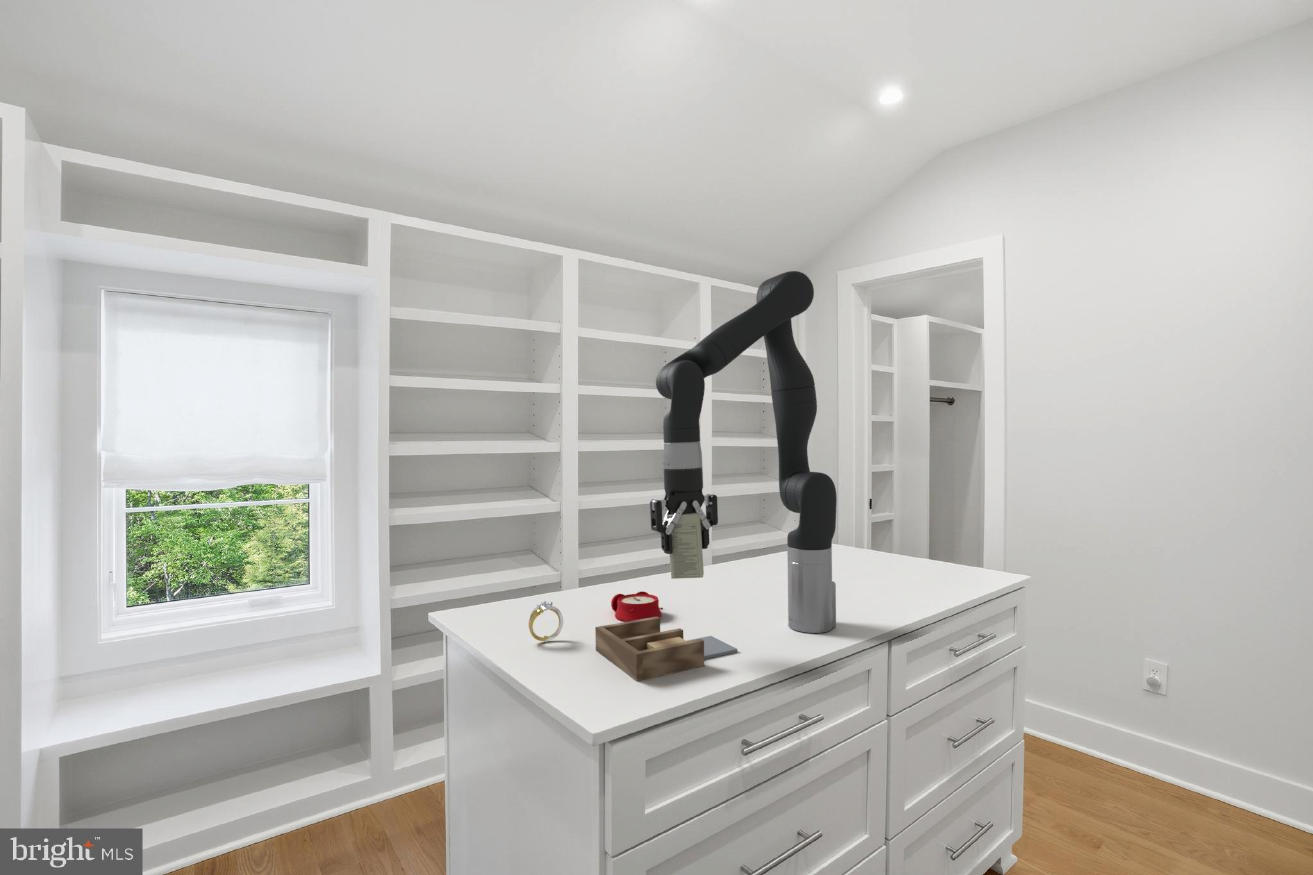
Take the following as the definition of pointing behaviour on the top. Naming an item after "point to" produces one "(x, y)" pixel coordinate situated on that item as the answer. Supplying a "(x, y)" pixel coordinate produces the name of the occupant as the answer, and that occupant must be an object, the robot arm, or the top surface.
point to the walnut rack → (631, 653)
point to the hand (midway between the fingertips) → (686, 550)
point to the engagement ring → (537, 612)
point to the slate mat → (715, 647)
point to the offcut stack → (665, 642)
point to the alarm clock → (635, 606)
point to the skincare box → (687, 547)
